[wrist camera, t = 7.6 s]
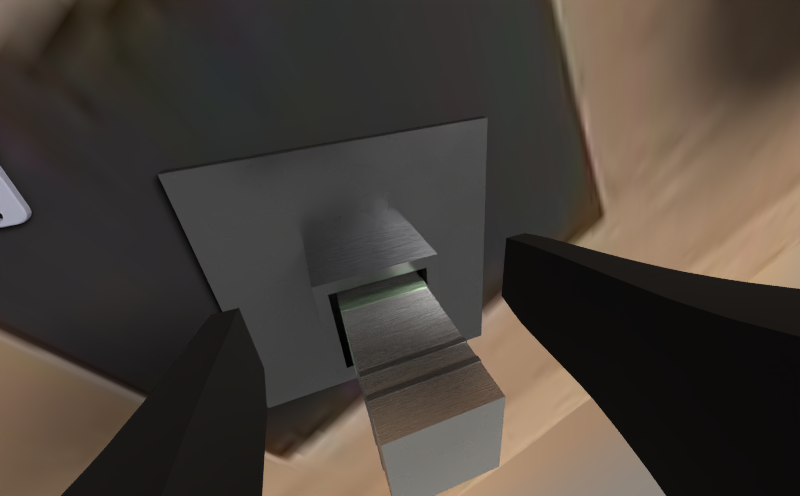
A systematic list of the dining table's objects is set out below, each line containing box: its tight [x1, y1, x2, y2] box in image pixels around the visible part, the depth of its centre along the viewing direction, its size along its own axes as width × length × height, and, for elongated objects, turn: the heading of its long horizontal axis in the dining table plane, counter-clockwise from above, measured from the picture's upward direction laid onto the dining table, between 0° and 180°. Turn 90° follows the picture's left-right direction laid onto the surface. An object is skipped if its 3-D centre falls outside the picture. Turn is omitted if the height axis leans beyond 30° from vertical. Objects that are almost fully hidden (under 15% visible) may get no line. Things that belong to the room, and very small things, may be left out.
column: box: [336, 271, 505, 496], centre depth 14 cm, size 4×4×8 cm
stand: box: [158, 116, 487, 408], centre depth 19 cm, size 16×16×5 cm
